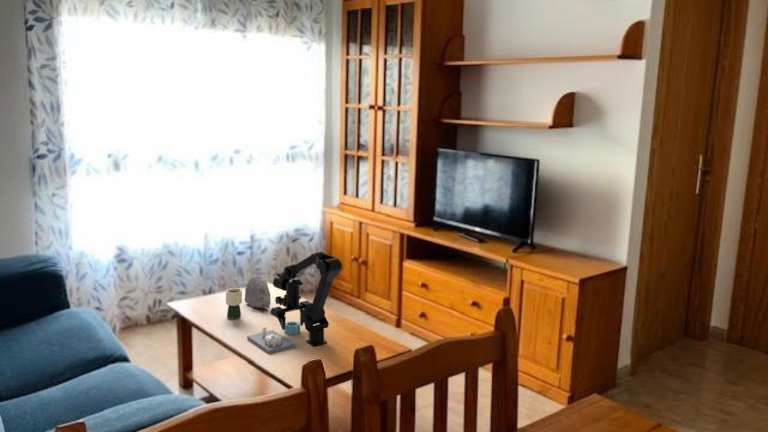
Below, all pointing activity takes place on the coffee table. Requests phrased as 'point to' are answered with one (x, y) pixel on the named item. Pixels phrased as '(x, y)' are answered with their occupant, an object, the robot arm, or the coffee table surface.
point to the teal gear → (292, 327)
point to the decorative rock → (257, 293)
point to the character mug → (233, 302)
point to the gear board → (269, 348)
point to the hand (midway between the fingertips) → (292, 327)
